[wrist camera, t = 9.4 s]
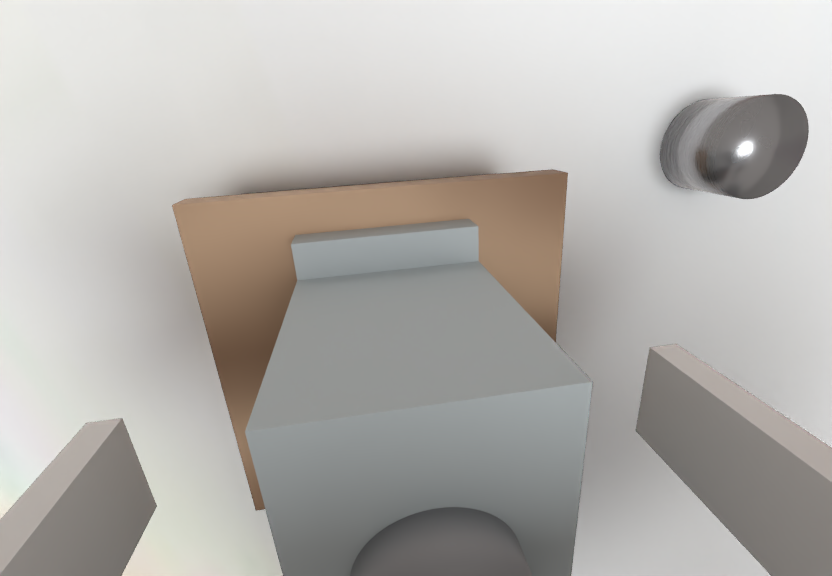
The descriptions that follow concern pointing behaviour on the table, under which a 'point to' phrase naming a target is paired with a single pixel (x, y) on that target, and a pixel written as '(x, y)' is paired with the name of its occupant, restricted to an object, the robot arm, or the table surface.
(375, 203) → the stand
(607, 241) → the table surface
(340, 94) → the table surface
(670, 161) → the dark grey metallic dome
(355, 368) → the housing
